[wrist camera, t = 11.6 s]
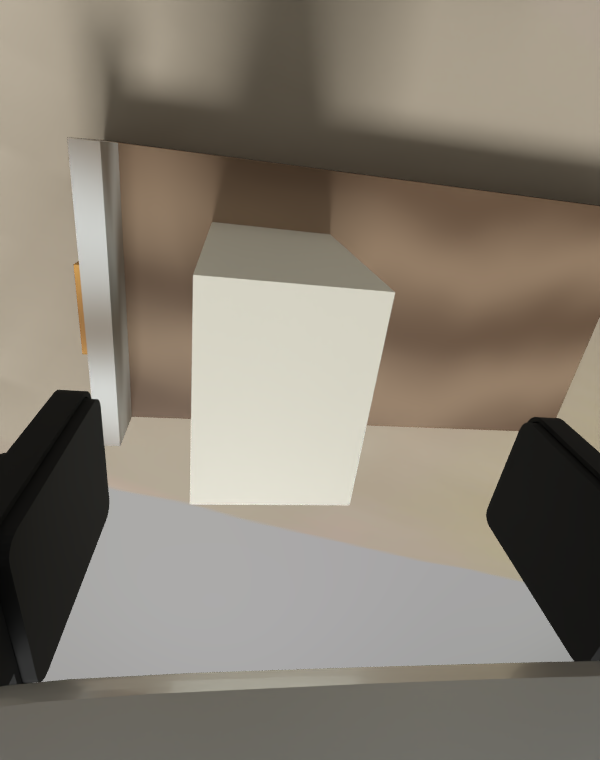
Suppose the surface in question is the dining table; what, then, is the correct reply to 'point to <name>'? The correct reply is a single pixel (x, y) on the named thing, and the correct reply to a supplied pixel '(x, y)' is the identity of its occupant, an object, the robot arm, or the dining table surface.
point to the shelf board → (369, 245)
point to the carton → (281, 366)
